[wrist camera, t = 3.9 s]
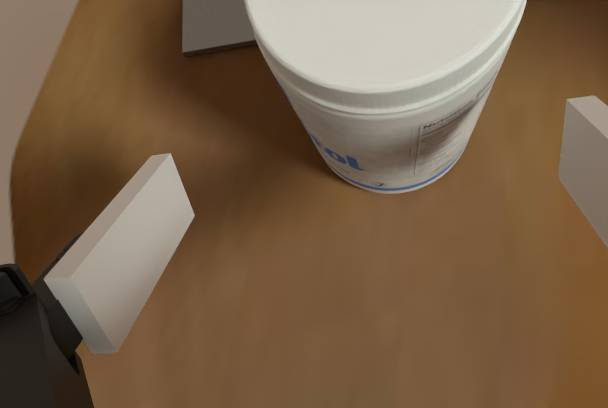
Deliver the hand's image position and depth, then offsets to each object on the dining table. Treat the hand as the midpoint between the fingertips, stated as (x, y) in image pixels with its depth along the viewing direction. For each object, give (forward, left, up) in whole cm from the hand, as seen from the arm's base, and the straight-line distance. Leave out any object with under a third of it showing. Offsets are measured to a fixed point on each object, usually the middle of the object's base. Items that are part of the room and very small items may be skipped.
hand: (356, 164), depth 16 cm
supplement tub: (-1, -6, -13) cm, 14 cm away
